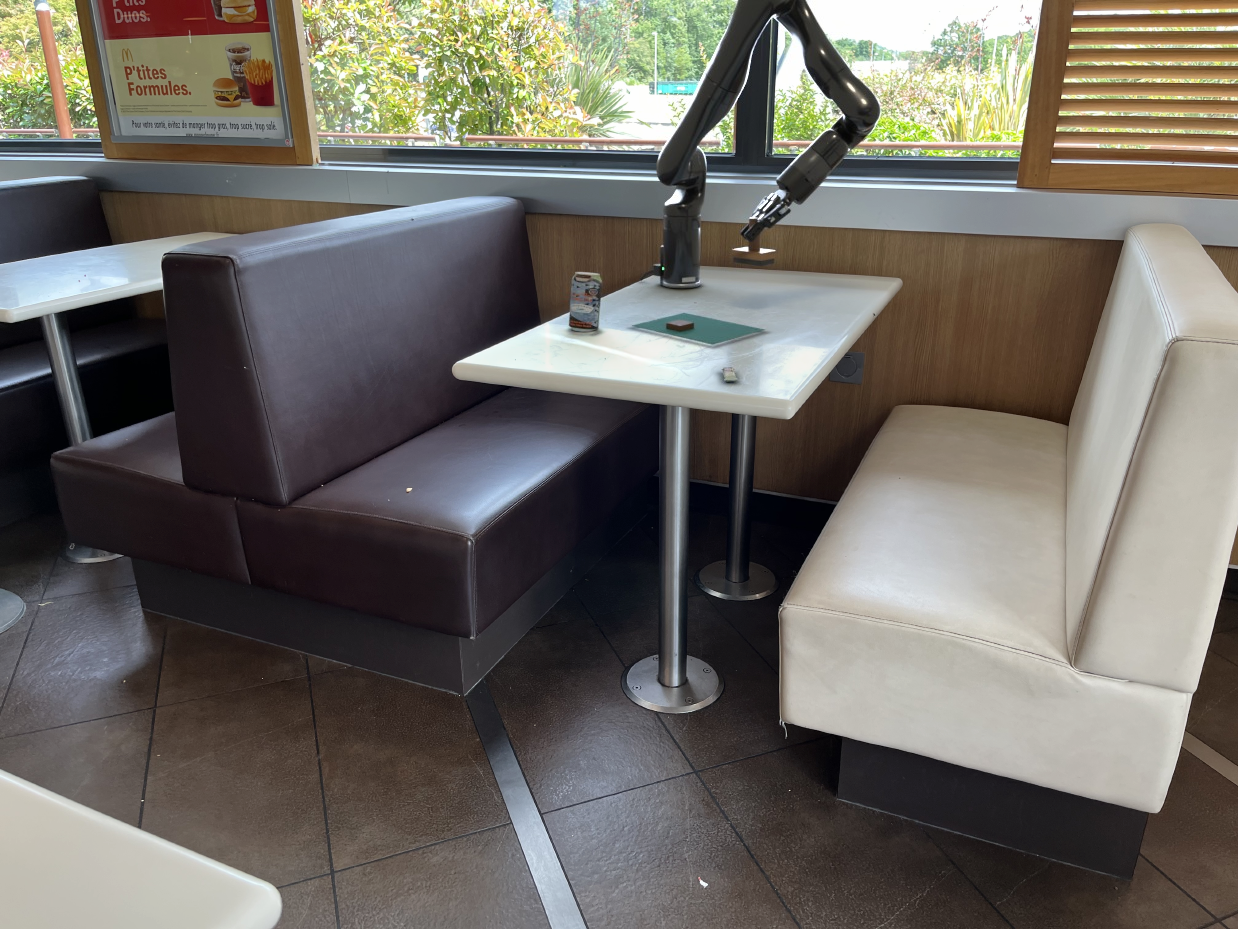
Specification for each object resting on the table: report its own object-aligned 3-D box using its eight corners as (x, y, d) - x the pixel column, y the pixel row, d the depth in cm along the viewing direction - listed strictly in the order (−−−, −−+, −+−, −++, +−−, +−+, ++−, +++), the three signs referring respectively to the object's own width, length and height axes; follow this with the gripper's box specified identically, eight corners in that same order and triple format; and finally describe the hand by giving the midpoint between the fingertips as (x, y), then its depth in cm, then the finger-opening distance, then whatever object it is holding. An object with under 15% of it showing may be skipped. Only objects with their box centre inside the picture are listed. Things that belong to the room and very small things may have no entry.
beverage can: (563, 333, 180) (561, 273, 175) (581, 325, 186) (580, 267, 181) (590, 336, 177) (589, 276, 172) (608, 328, 183) (607, 270, 178)
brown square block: (666, 328, 180) (666, 322, 180) (679, 325, 183) (679, 319, 182) (680, 331, 177) (680, 325, 177) (694, 328, 180) (694, 322, 179)
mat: (631, 328, 183) (631, 325, 183) (684, 315, 193) (684, 312, 193) (712, 347, 168) (712, 344, 168) (765, 332, 178) (765, 329, 178)
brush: (731, 262, 193) (733, 217, 190) (746, 259, 196) (747, 215, 193) (761, 266, 188) (763, 220, 184) (775, 263, 191) (777, 218, 188)
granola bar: (738, 383, 147) (738, 377, 146) (724, 383, 147) (724, 377, 146) (734, 371, 153) (734, 365, 153) (720, 371, 153) (720, 365, 153)
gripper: (782, 161, 192) (724, 221, 195) (803, 165, 179) (741, 230, 182) (804, 185, 194) (747, 245, 198) (826, 192, 182) (765, 255, 185)
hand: (745, 237), depth 190 cm, fingers closed on brush, 2 cm apart
